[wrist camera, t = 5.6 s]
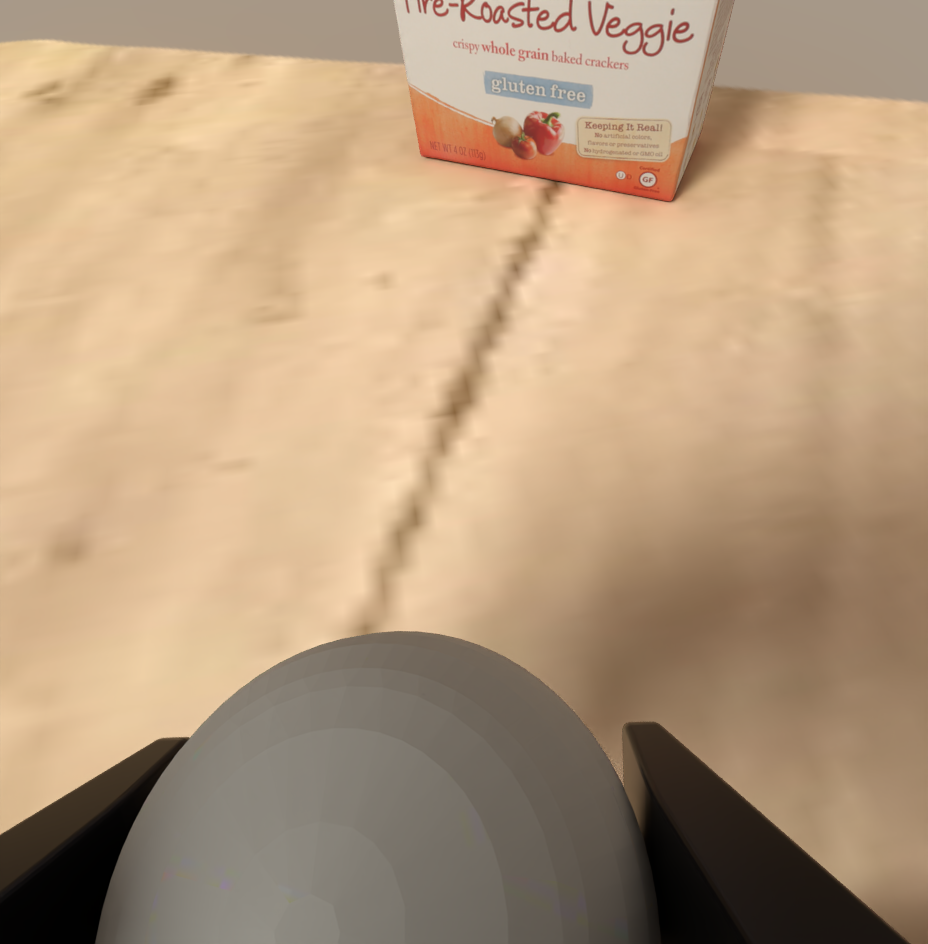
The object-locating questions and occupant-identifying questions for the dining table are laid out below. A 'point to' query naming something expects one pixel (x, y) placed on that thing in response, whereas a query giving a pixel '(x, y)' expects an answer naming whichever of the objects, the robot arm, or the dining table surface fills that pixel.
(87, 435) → the dining table surface
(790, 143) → the dining table surface
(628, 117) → the cracker box
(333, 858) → the light bulb
